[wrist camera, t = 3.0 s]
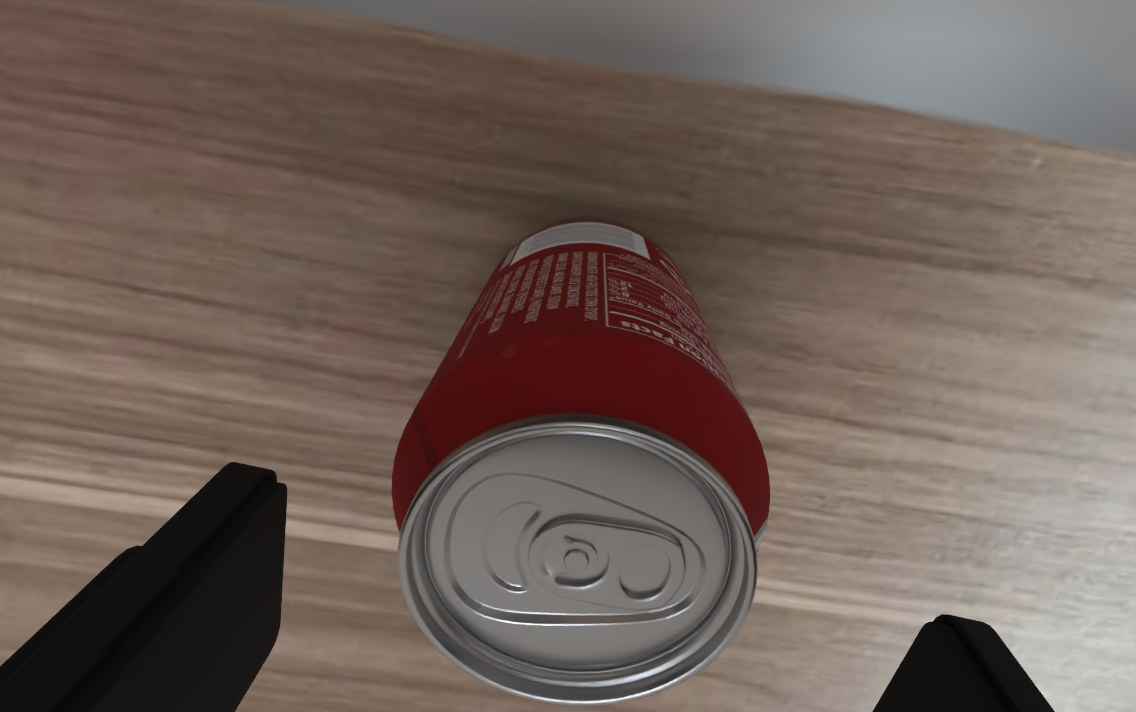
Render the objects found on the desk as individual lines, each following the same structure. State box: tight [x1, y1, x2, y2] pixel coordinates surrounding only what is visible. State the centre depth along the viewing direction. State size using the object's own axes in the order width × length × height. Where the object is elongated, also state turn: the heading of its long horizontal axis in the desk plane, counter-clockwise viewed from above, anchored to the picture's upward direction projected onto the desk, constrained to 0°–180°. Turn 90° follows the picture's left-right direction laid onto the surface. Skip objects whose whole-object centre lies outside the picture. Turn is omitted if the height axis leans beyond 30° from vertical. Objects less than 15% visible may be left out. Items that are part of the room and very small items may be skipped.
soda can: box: [392, 220, 770, 706], centre depth 15 cm, size 7×7×12 cm
